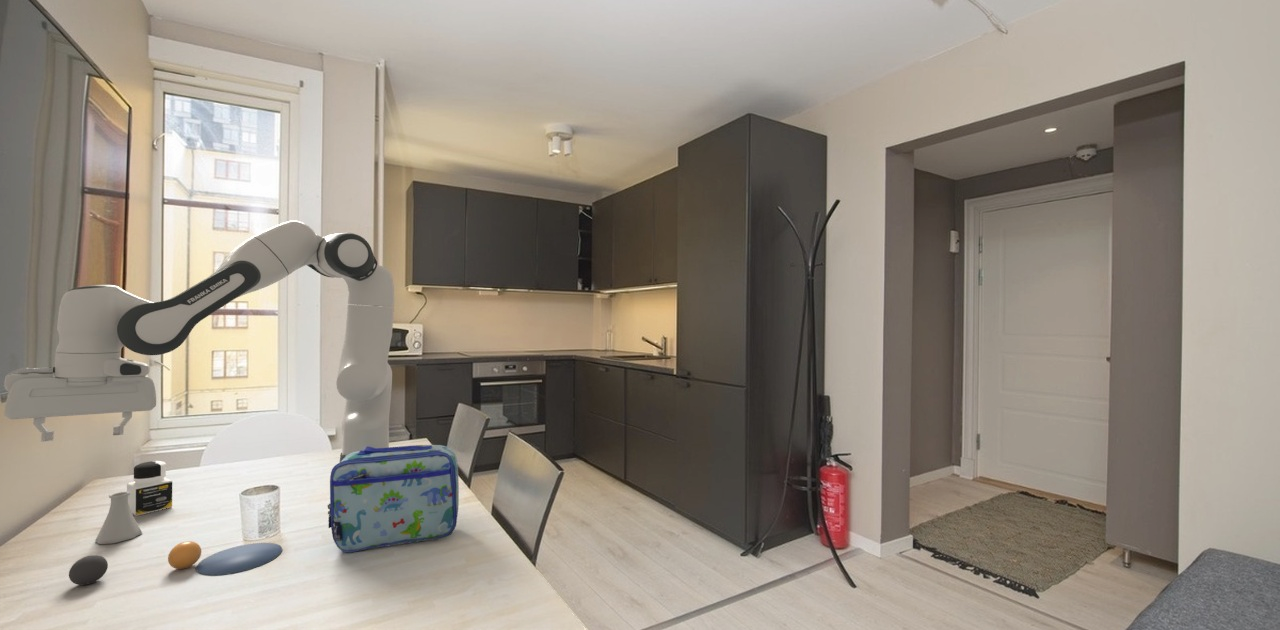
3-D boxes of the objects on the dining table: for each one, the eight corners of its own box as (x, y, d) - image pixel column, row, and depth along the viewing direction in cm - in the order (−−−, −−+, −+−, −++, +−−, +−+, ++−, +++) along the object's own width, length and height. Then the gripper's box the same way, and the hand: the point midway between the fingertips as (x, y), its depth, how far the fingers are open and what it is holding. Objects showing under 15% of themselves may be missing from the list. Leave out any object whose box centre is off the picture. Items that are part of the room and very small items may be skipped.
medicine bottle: (135, 516, 129) (135, 468, 129) (126, 510, 133) (126, 463, 133) (172, 507, 135) (172, 461, 135) (162, 502, 139) (163, 457, 139)
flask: (112, 546, 112) (112, 500, 112) (86, 543, 114) (87, 498, 114) (150, 533, 119) (150, 489, 119) (125, 530, 121) (125, 487, 121)
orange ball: (204, 559, 106) (204, 535, 106) (196, 570, 102) (196, 544, 102) (173, 564, 104) (173, 539, 104) (163, 575, 100) (163, 549, 100)
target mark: (287, 539, 116) (287, 538, 116) (275, 566, 104) (275, 565, 104) (208, 551, 110) (208, 550, 110) (185, 581, 98) (185, 580, 98)
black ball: (112, 574, 100) (113, 548, 100) (100, 586, 96) (100, 559, 96) (77, 580, 98) (77, 553, 98) (62, 592, 93) (62, 565, 94)
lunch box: (323, 558, 107) (324, 457, 107) (337, 537, 118) (338, 444, 118) (456, 543, 115) (457, 448, 115) (459, 524, 125) (459, 437, 125)
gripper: (2, 369, 92) (-3, 448, 92) (159, 366, 107) (155, 434, 106) (7, 366, 96) (2, 441, 96) (157, 364, 111) (153, 428, 111)
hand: (83, 437), depth 101 cm, fingers open, 8 cm apart
